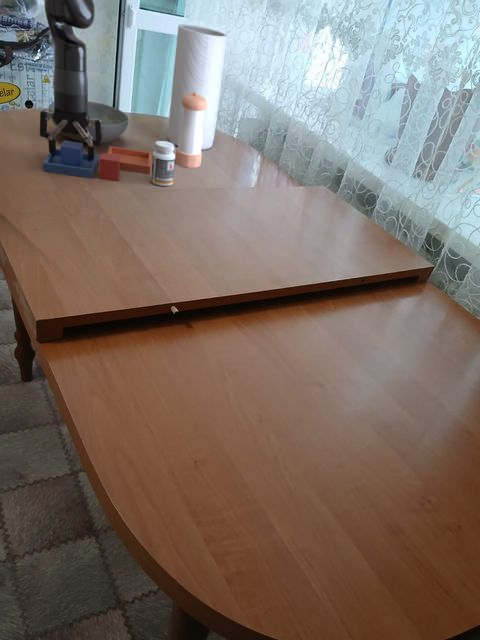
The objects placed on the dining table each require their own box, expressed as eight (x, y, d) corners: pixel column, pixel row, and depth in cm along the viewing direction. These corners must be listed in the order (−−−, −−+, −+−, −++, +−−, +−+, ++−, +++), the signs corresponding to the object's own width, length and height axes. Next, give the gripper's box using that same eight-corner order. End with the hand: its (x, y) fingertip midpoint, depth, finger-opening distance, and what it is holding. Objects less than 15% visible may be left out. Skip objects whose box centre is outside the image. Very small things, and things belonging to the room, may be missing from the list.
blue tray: (43, 171, 132) (42, 163, 131) (51, 155, 141) (51, 147, 140) (93, 178, 134) (93, 170, 133) (98, 162, 143) (98, 154, 142)
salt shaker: (195, 170, 153) (204, 98, 142) (171, 163, 154) (178, 90, 143) (203, 163, 159) (212, 93, 148) (180, 156, 160) (187, 86, 149)
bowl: (103, 126, 168) (103, 99, 163) (141, 150, 158) (143, 121, 153) (36, 129, 154) (35, 100, 150) (73, 155, 144) (73, 124, 139)
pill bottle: (177, 184, 142) (181, 146, 136) (162, 188, 138) (166, 149, 132) (160, 176, 144) (164, 138, 138) (145, 180, 140) (148, 141, 134)
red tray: (104, 167, 141) (104, 159, 140) (109, 153, 151) (109, 145, 149) (150, 174, 144) (150, 166, 143) (151, 159, 153) (152, 152, 152)
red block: (99, 178, 135) (99, 158, 132) (101, 172, 139) (101, 152, 136) (118, 181, 136) (118, 161, 133) (119, 174, 140) (120, 155, 137)
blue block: (61, 166, 135) (60, 146, 132) (64, 160, 139) (63, 140, 136) (80, 169, 136) (80, 149, 133) (82, 162, 140) (82, 143, 137)
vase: (210, 154, 167) (226, 39, 148) (163, 145, 165) (173, 27, 147) (214, 141, 178) (229, 32, 160) (170, 132, 177) (181, 21, 158)
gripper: (104, 90, 131) (102, 157, 141) (41, 79, 128) (44, 148, 138) (100, 98, 125) (99, 167, 135) (35, 86, 122) (38, 158, 132)
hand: (71, 157), depth 136 cm, fingers open, 8 cm apart
